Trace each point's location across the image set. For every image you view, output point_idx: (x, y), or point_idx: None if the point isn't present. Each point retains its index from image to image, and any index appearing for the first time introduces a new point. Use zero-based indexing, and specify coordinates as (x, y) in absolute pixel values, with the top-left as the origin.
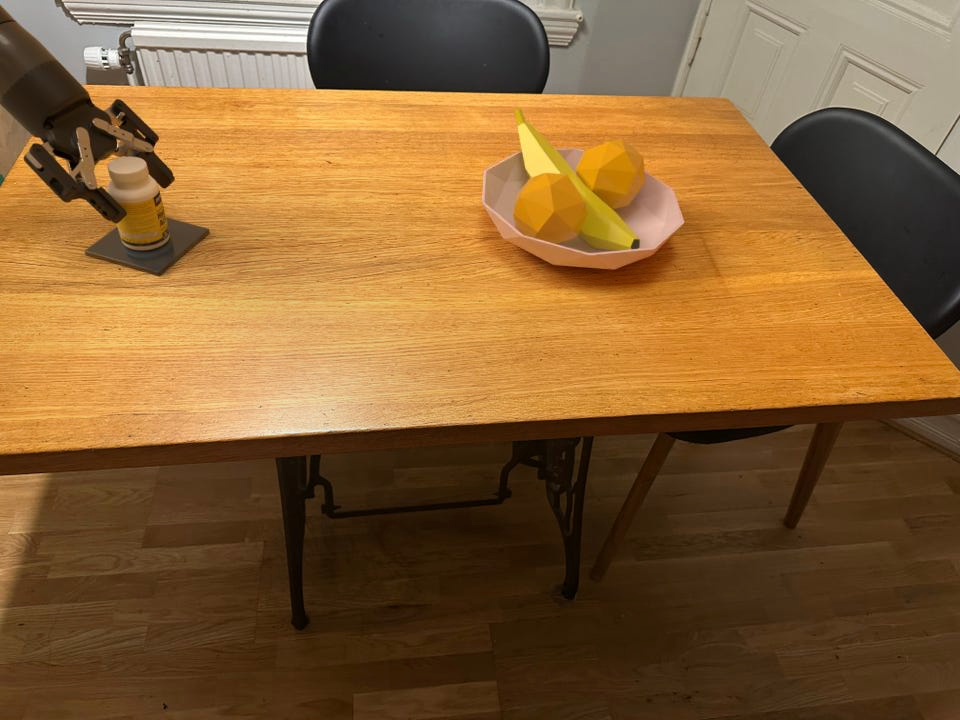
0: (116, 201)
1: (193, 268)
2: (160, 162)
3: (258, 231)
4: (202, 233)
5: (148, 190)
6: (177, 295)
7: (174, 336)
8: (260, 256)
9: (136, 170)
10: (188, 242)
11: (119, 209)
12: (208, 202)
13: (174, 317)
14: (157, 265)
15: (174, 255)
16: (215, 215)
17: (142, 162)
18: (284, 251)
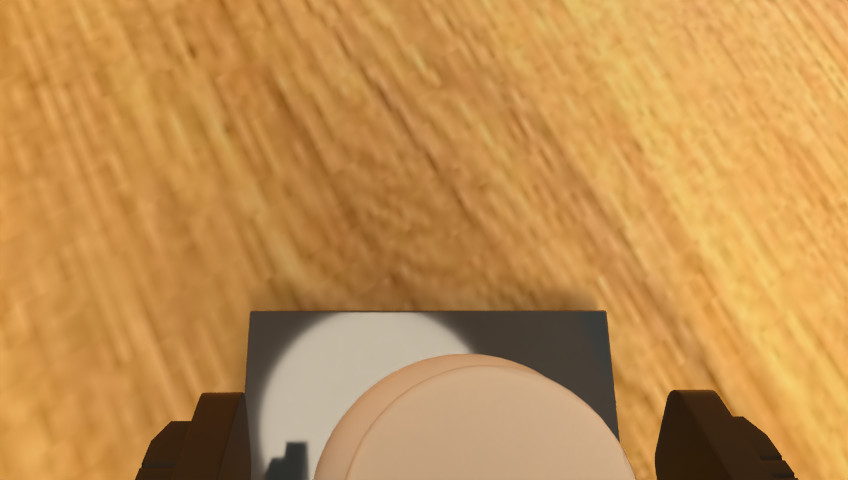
0: (710, 438)
1: (498, 236)
2: (174, 477)
3: (169, 151)
4: (297, 312)
5: (488, 363)
6: (655, 196)
7: (815, 94)
8: (326, 69)
9: (533, 383)
10: (382, 326)
11: (715, 408)
12: (6, 474)
13: (749, 142)
14: (573, 342)
15: (487, 321)
16: (110, 375)
17: (401, 429)
18: (262, 14)
